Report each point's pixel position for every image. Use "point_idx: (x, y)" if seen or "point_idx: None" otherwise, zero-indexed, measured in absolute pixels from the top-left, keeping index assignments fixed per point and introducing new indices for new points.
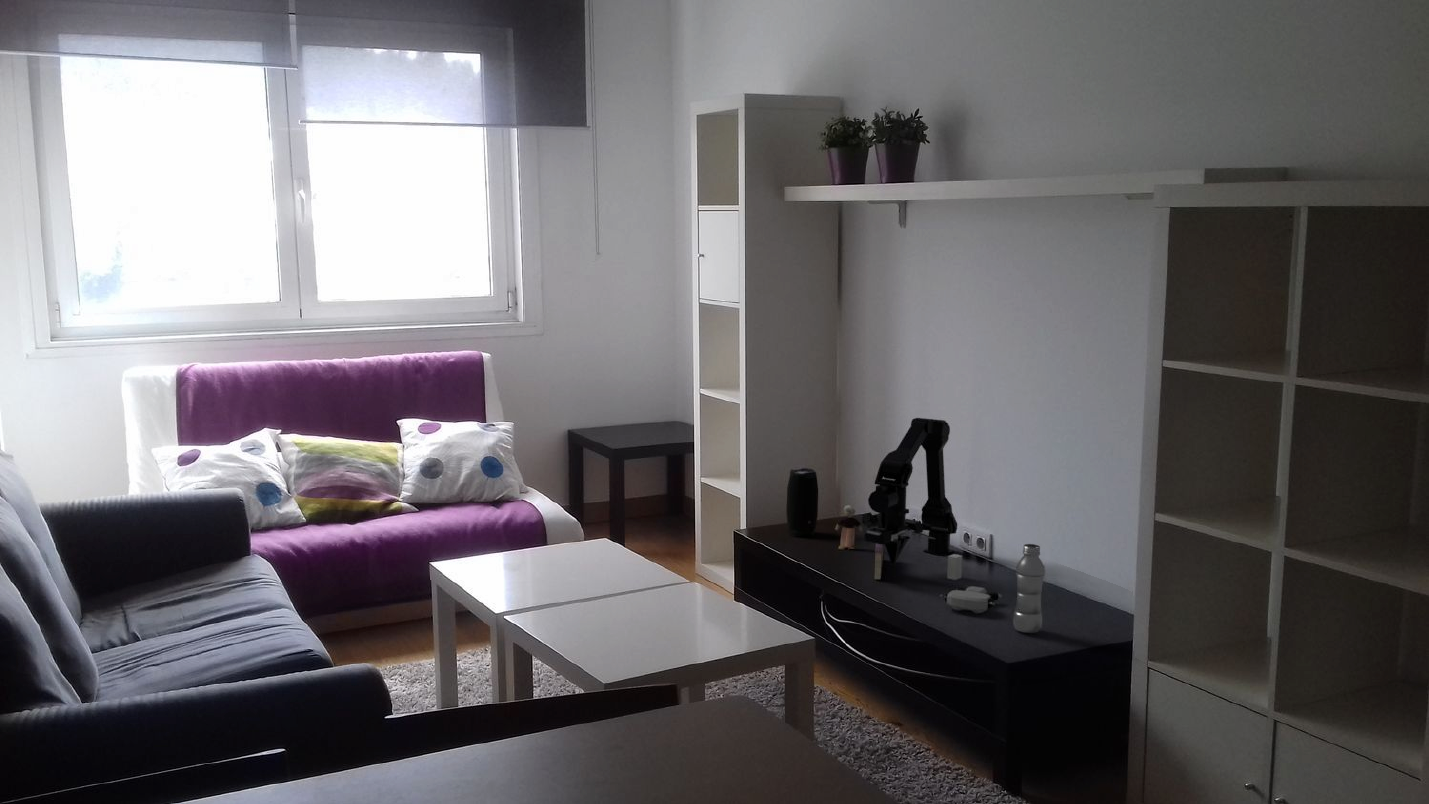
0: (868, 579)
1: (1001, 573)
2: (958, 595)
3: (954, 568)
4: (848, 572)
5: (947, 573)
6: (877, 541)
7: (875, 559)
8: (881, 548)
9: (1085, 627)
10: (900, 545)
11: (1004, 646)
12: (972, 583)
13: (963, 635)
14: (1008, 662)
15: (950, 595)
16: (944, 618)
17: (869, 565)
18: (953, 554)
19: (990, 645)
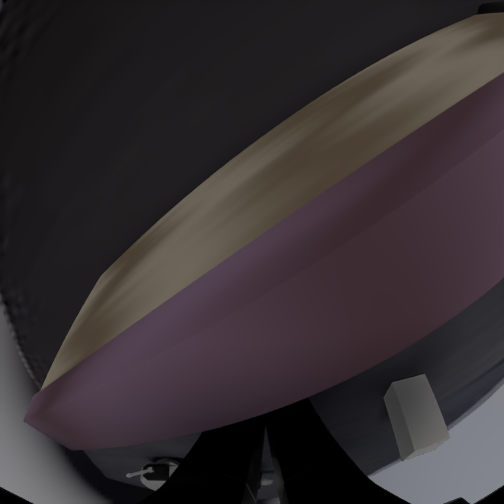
0: (92, 231)
1: (482, 383)
2: (152, 488)
3: (394, 427)
4: (90, 43)
5: (397, 395)
6: (3, 500)
7: (52, 368)
8: (103, 443)
9: (260, 494)
10: (280, 501)
11: (128, 479)
12: (376, 419)
13: (104, 464)
14: (107, 477)
15: (142, 482)
16: (116, 454)
17: (368, 6)
18: (442, 440)
19: (116, 474)
